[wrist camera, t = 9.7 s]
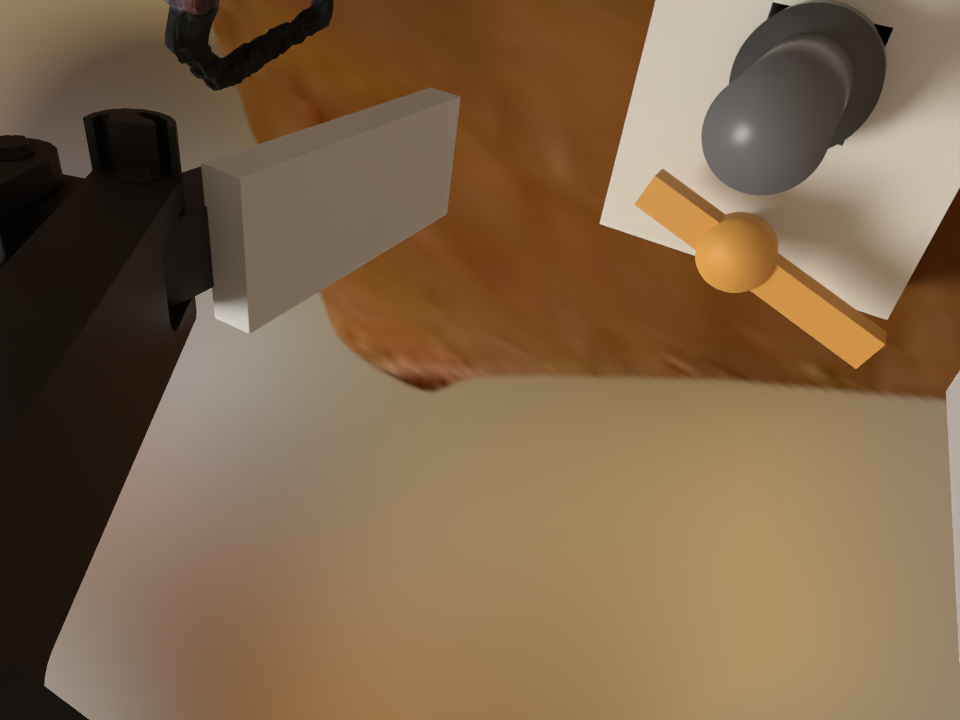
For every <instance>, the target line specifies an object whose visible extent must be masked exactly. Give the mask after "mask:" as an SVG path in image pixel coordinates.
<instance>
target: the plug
mask: <svg viewBox="0 0 960 720" xmlns="http://www.w3.org/2000/svg"><path fill="white" fill-rule="evenodd" d="M886 66H887V62H886V51H885V46H884V43H883V40H882V38H881V35H880V33H879V32H878V30H877V28H876V27H875V25H874V24H873V23H872V22H871V20H870V19H869V18H868V17H866V16H865V15H864V14H863V13H862V12H860V11H859V10H857V9H856V8H854V7H851V6H849V5H847V4H844V3H841V2H837V1H830V0H813V1H806V2H802V3H799V4H795V5H793V6H790V7H788V8H785V9H784V10H782V11H780V12H778V13H776V14H775V15H773V16H772V17H770V18H769V19H767V20H766V21H765V22H763V23H762V24H761V25H760V26H758V27H757V28H756V29H755V30H754V31H753V32H752V33H751V35H750V36H749V37H748V38H747V39H746V41H745V42H744V44H743V45H742V46H741V48H740V50H739V52H738V54H737V56H736V58H735V60H734V63H733V66H732V69H731V73H730V79H729V85H728V86H727V87H725V88H724V89H723V90H722V91H721V92H720V93H719V94H718V95H717V97H716V98H715V99H714V101H713V102H712V103H711V105H710V107H709V109H708V111H707V113H706V116H705V118H704V122H703V126H702V134H701V140H702V149H703V153H704V157H705V159H706V161H707V164H708V166H709V167H710V169H711V170H712V172H713V173H714V174H715V175H716V177H717V178H718V179H719V180H721V181H722V182H723V183H724V184H726V185H727V186H729V187H730V188H732V189H734V190H736V191H739V192H742V193H746V194H750V195H772V194H777V193H781V192H784V191H787V190H789V189H791V188H793V187H795V186H797V185H799V184H800V183H802V182H803V181H804V180H806V179H807V178H808V177H809V176H810V175H811V174H812V173H813V172H814V171H815V170H816V169H817V168H818V166H819V165H820V163H821V162H822V160H823V158H824V156H825V154H826V152H827V150H828V149H829V148H831V147H834V146H835V145H837V144H839V143H841V142H843V141H844V140H846V139H847V138H848V137H850V136H851V135H852V134H853V133H855V132H856V131H857V130H858V129H859V128H860V127H861V126H862V125H863V124H864V122H865V121H866V120H867V119H868V117H869V116H870V114H871V113H872V112H873V110H874V108H875V106H876V104H877V102H878V100H879V97H880V95H881V92H882V88H883V84H884V80H885V75H886Z"/></svg>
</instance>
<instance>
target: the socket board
mask: <svg viewBox="0 0 960 720" xmlns="http://www.w3.org/2000/svg"><path fill="white" fill-rule="evenodd" d="M806 1H813V0H656V1H655V5H654V9H653V13H652V17H651V21H650V25H649V29H648V33H647V37H646V41H645V45H644V49H643V53H642V57H641V61H640V65H639V69H638V73H637V77H636V81H635V85H634V89H633V93H632V97H631V101H630V105H629V109H628V113H627V117H626V121H625V124H624V128H623V132H622V136H621V140H620V144H619V148H618V152H617V156H616V160H615V164H614V168H613V172H612V176H611V180H610V184H609V188H608V192H607V196H606V200H605V204H604V208H603V212H602V216H601V220H600V224H602V225H605V226H608V227H611V228H614V229H617V230H620V231H622V232H625V233H628V234H631V235H634V236H637V237H640V238H643V239H646V240H649V241H652V242H655V243H658V244H661V245H664V246H667V247H670V248H673V249H676V250H679V251H682V252H685V253H688V254H691V255H694V256H695V253H696V250H695V249H693V248H692V247H691V246H689V245H688V244H687V243H685V242H684V241H683V240H681V239H680V238H679V237H677V236H676V235H675V234H673V233H672V232H671V231H669V230H668V229H666V228H665V227H664V226H662V225H661V224H660V223H658V222H657V221H656V220H654V219H653V218H652V217H650V216H649V215H648V214H646V213H645V212H644V211H642V210H641V209H640V208H638V207H637V206H635V205H634V204H635V203H636V201H637V200H638V199H639V197H640V196H641V194H642V193H643V192H644V190H645V189H646V187H647V186H648V185H649V183H650V182H651V181H652V179H653V178H654V176H655V175H656V174H657V173H658V172H659V171H660V170H662V169H664V170H665V171H667V172H668V173H670V174H671V175H672V176H674V177H675V178H676V179H678V180H679V181H680V182H682V183H683V184H685V185H686V186H687V187H689V188H690V189H691V190H693V191H694V192H696V193H697V194H698V195H700V196H701V197H702V198H704V199H705V200H706V201H708V202H709V203H711V204H712V205H713V206H715V207H716V208H717V209H719V210H720V211H722V212H723V213H724V214H729V213H733V212H747V213H752V214H755V215H757V216H759V217H761V218H763V219H764V220H765V221H766V222H768V223H769V224H770V226H771V227H772V228H773V230H774V232H775V234H776V236H777V240H778V253H779V254H780V255H782V256H783V257H784V258H786V259H787V260H789V261H790V262H791V263H793V264H794V265H795V266H797V267H798V268H800V269H801V270H802V271H804V272H805V273H806V274H808V275H809V276H810V277H812V278H813V279H815V280H816V281H817V282H819V283H820V284H821V285H823V286H824V287H825V288H827V289H828V290H830V291H831V292H832V293H834V294H835V295H836V296H838V297H839V298H841V299H842V300H843V301H845V302H846V303H847V304H849V305H850V306H851V307H853V308H854V309H856V310H859V311H862V312H865V313H868V314H871V315H874V316H877V317H880V318H883V319H886V320H887V319H888V318H889V316H890V314H891V312H892V310H893V308H894V307H895V305H896V303H897V301H898V299H899V297H900V296H901V294H902V292H903V290H904V288H905V286H906V285H907V283H908V281H909V279H910V277H911V276H912V274H913V272H914V270H915V268H916V266H917V265H918V263H919V261H920V259H921V257H922V255H923V254H924V252H925V250H926V248H927V246H928V244H929V243H930V241H931V239H932V237H933V235H934V234H935V232H936V230H937V228H938V226H939V224H940V223H941V221H942V219H943V217H944V215H945V213H946V212H947V210H948V208H949V206H950V204H951V202H952V201H953V199H954V197H955V195H956V193H957V192H958V190H959V188H960V0H830V1H837V2H841V3H844V4H847V5H849V6H851V7H854V8H856V9H857V10H859V11H860V12H862V13H863V14H864V15H865V16H866V17H868V18H869V19H870V20H871V22H872V23H874V24H878V25H883V26H888V27H892V29H891V32H890V34H889V36H888V39H887V41H886V43H885V51H886V62H887V66H886V75H885V80H884V84H883V88H882V92H881V95H880V97H879V100H878V102H877V104H876V106H875V108H874V110H873V112H872V113H871V114H870V116H869V117H868V119H867V120H866V121H865V122H864V124H863V125H862V126H861V127H860V128H859V129H858V130H857V131H856V132H855V133H853V134H852V135H851V136H850V137H848V138H847V139H846V140H844V141H843V142H841V143H839V144H837V145H835V146H834V147H831V148H829V149H828V150H827V152H826V154H825V156H824V158H823V160H822V162H821V163H820V165H819V166H818V168H817V169H816V170H815V171H814V172H813V173H812V174H811V175H810V176H809V177H808V178H807V179H806V180H804V181H803V182H802V183H800V184H799V185H797V186H795V187H793V188H791V189H789V190H787V191H784V192H781V193H777V194H772V195H750V194H746V193H742V192H739V191H736V190H734V189H732V188H730V187H729V186H727V185H726V184H724V183H723V182H722V181H721V180H719V179H718V178H717V177H716V175H715V174H714V173H713V172H712V170H711V169H710V167H709V166H708V164H707V161H706V159H705V157H704V153H703V149H702V140H701V134H702V126H703V122H704V118H705V116H706V113H707V111H708V109H709V107H710V105H711V103H712V102H713V101H714V99H715V98H716V97H717V95H718V94H719V93H720V92H721V91H722V90H723V89H724V88H725V87H727V86H728V85H729V79H730V73H731V69H732V66H733V63H734V60H735V58H736V56H737V54H738V52H739V50H740V48H741V46H742V45H743V44H744V42H745V41H746V39H747V38H748V37H749V36H750V35H751V33H752V32H753V31H754V30H755V29H756V28H757V27H758V26H760V25H761V24H762V23H763V22H765V21H766V20H767V19H769V18H770V17H772V16H773V15H775V14H776V13H778V12H780V11H782V8H783V5H789V6H793V5H795V4H799V3H802V2H806Z"/></svg>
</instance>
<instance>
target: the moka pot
mask: <svg viewBox="0 0 960 720" xmlns="http://www.w3.org/2000/svg"><path fill="white" fill-rule="evenodd" d="M164 1H165V2H167V3H168V4H169V5H170V8H169V14H168V20H167V26H166V32H165V45H166V46H167V47H168V48H169V49H170V50H171V51H172V52H173V53H175V55H176V56H177V57H178V60H179V62H181V63H182V64H183V63H186V64H187V65H189V66H190V71H191V72H192V74H193V75H194V76H196V77H197V78H200V79H203V80H204V82H205V84H206V85H207V86H208V87H209V88H211V89H212V90H214V91H215V90H221V89H223V88H226V87H229V86H235V85H236V84H238V83H241V82H242V81H243V79H244V78H246V77H250V76H251V73H256V72H257V71H258V70H260V69H261V68H262V67H263V66H264V64H266V63H268V62H269V61H271V60H273V59H276V58H277V57H278V56H279V55H280V54H283V53H285V52H286V51H287V50H288V49H289V48H290V47H291V46H292V45H295V44H299V43H302V42H303V41H304V40H305V39H306V37H307V36H312V35H314V34H315V33H316V32H317V31H320V30H322V29H324V28H325V27H327V26H328V25H329V23H330V20H331V18H332V13H333V0H312V3H311V6H310V7H309V8H308V9H305V10H303V11H302V12H301V13H300V14H298V16H297V17H296V18H295V19H294V20H293V21H292V22H291V23H288V22H286V23H283V24H281V25H278V26H276V27H275V28H272V29H270V30H269V31H268V32H267V33H266V34H265V35H261V36H259V37H257V38H255V39H253V40H252V41H251V42H250V43H244V44H242V45H241V46H239V47H238V48H236V49H235V50H234V51H233V52H231V53H230V54H229V55H227V56H225V57H224V58H219V57H218V56H217V55H215V54H214V53H213V52H212V50H211V47H210V46H209V44H208V40H209V33H210V29H211V25H212V22H213V20H214V18H215V16H216V14H217V12H218V7H219V0H164Z"/></svg>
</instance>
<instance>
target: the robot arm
mask: <svg viewBox="0 0 960 720" xmlns="http://www.w3.org/2000/svg"><path fill="white" fill-rule="evenodd" d="M459 105H460V96H457V95H454V94H450V93H447V92H443V91H440V90H437V89H433V88H428V89H425V90H422V91H419V92H416V93H413V94H410V95H407V96H404V97H400V98H397V99H394V100H391V101H388V102H385V103H382V104H379V105H376V106H373V107H370V108H367V109H364V110H361V111H358V112H355V113H352V114H349V115H346V116H343V117H340V118H337V119H334V120H331V121H328V122H325V123H322V124H319V125H316V126H313V127H310V128H307V129H304V130H301V131H298V132H295V133H292V134H289V135H285V136H282V137H279V138H276V139H273V140H270V141H267V142H264V143H261V144H258V145H255V146H252V147H249V148H247V149H243V150H240V151H237V152H234V153H231V154H228V155H225V156H222V157H219V158H216V159H213V160H210V161H207V162H204V163H201V167H198V168H195V169H192V170H189V171H186V172H183V173H182V172H181V162H180V153H179V144H178V134H177V125H176V121H175V120H174V119H172V118H171V117H170V116H168V115H165V114H162V113H160V112H155V111H150V110H144V109H126V108H125V109H110V110H103V111H99V112H95V113H91V114H89V115H88V116H86V117H84V118H83V120H84V126H85V131H86V137H87V142H88V148H89V153H90V159H91V165H92V170H93V171H92V172H91V173H90V174H89V175H88V176H87V177H86V178H80V177H75V176H69V175H64V174H62V170H61V165H60V160H59V155H58V152H57V148H56V147H55V146H53V145H52V144H51V143H49V142H45V141H42V140H38V139H31V138H25V136H21V135H20V136H19V135H13V136H11V135H3V136H0V720H89V719H87V718H86V717H85V716H83V715H82V714H81V713H79V712H78V711H77V710H75V709H74V708H73V707H71V706H70V705H69V704H67V703H66V702H65V701H63V700H62V699H61V698H59V697H58V696H56V695H55V694H54V693H53V692H51V691H50V690H49V689H47V688H46V687H45V686H44V680H45V673H46V667H47V663H48V661H49V658H50V655H51V652H52V649H53V647H54V645H55V642H56V640H57V638H58V635H59V633H60V631H61V629H62V626H63V624H64V622H65V619H66V617H67V615H68V612H69V610H70V608H71V605H72V603H73V601H74V599H75V596H76V594H77V591H78V589H79V587H80V585H81V582H82V580H83V578H84V576H85V573H86V571H87V569H88V566H89V564H90V561H91V559H92V557H93V555H94V552H95V550H96V548H97V546H98V543H99V541H100V539H101V536H102V534H103V532H104V529H105V527H106V525H107V522H108V520H109V518H110V516H111V513H112V511H113V509H114V506H115V504H116V502H117V499H118V497H119V495H120V492H121V490H122V488H123V486H124V483H125V481H126V478H127V476H128V474H129V472H130V469H131V467H132V465H133V462H134V460H135V458H136V455H137V453H138V451H139V449H140V446H141V444H142V441H143V439H144V437H145V435H146V432H147V430H148V428H149V426H150V423H151V421H152V419H153V416H154V414H155V412H156V409H157V407H158V405H159V402H160V400H161V398H162V396H163V393H164V391H165V389H166V386H167V384H168V382H169V379H170V377H171V375H172V373H173V370H174V368H175V366H176V363H177V361H178V359H179V356H180V354H181V352H182V349H183V347H184V345H185V343H186V340H187V338H188V336H189V333H190V331H191V329H192V326H193V324H194V322H195V319H196V302H195V296H196V295H198V294H200V293H202V292H204V291H206V290H208V289H210V288H212V290H213V301H214V312H215V318H216V319H218V320H221V321H223V322H225V323H227V324H229V325H231V326H234V327H236V328H238V329H240V330H242V331H244V332H246V333H248V334H250V333H252V332H253V331H255V330H257V329H258V328H260V327H262V326H263V325H265V324H267V323H268V322H270V321H271V320H273V319H275V318H276V317H278V316H279V315H281V314H283V313H284V312H286V311H288V310H290V309H291V308H293V307H295V306H296V305H298V304H299V303H301V302H303V301H304V300H306V299H308V298H309V297H311V296H312V295H314V294H316V293H318V292H319V291H321V290H323V289H324V288H326V287H327V286H329V285H331V284H332V283H334V282H336V281H337V280H339V279H341V278H342V277H344V276H346V275H347V274H349V273H351V272H352V271H354V270H355V269H357V268H359V267H360V266H362V265H364V264H365V263H367V262H369V261H370V260H372V259H374V258H375V257H377V256H379V255H380V254H382V253H383V252H385V251H387V250H388V249H390V248H392V247H393V246H395V245H397V244H398V243H400V242H402V241H403V240H405V239H407V238H408V237H410V236H411V235H413V234H415V233H416V232H418V231H420V230H421V229H423V228H425V227H426V226H428V225H430V224H431V223H433V222H434V221H436V220H438V219H439V218H441V217H443V216H444V215H446V214H447V207H448V198H449V190H450V181H451V173H452V164H453V156H454V147H455V139H456V130H457V122H458V113H459ZM946 401H947V421H948V441H949V460H950V461H949V462H950V481H951V502H952V520H953V521H952V522H953V542H954V562H955V582H956V602H957V623H958V643H959V663H960V371H959V372H958V374H957V376H956V377H955V379H954V380H953V382H952V383H951V385H950V386H949V388H948V389H947V391H946Z"/></svg>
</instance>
